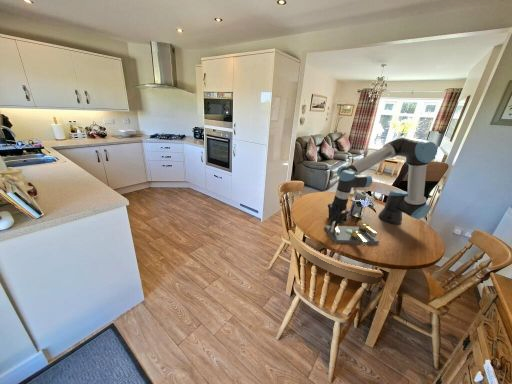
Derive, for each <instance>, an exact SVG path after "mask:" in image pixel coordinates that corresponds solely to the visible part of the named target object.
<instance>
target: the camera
mask: <svg viewBox="0 0 512 384" xmlns="http://www.w3.org/2000/svg"><path fill="white" fill-rule="evenodd" d="M333 211H334V209H333V206H332V216H333ZM344 213H345V212H342V213H341V215H340V219H341V218H342V216H343V215H344ZM337 214H338V211H337ZM337 214H336V217H335V221H336V218H337ZM340 219H339V221H340ZM347 219H348V214H347V215H346V217H345V218H344V220H343V221H342V222H341V223H343V222H346V221H347Z"/></svg>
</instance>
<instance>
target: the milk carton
mask: <svg viewBox="0 0 512 384" xmlns="http://www.w3.org/2000/svg"><path fill="white" fill-rule="evenodd" d="M366 194H367V193H366V192H365V191H364V190H362V191H361V190H359V189H357V188H355V193H354V196H353V199H354V198H355V200H360V199H361V200H364V201H366V199H367V195H366ZM363 208H364V206H363V207H358V206H357V204H356V203H355V201H353V200H352V203H351V207H350V210H349V211H350V212H349V217H352V216H353V215H354V214H356V213H359V214H360V216H362V211H363Z"/></svg>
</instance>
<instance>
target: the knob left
mask: <svg viewBox="0 0 512 384" xmlns="http://www.w3.org/2000/svg"><path fill="white" fill-rule="evenodd" d="M351 237H352V238H353V239H356V240H358V241H359V242H360V243H359V244H360V245H361V246H362V247H366V246H367V245H368V244H367V241H366V240H365V239H364V238H363V237H362V236H361V232H360V231H359V230H355V229H354V230H352V233H351Z"/></svg>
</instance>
